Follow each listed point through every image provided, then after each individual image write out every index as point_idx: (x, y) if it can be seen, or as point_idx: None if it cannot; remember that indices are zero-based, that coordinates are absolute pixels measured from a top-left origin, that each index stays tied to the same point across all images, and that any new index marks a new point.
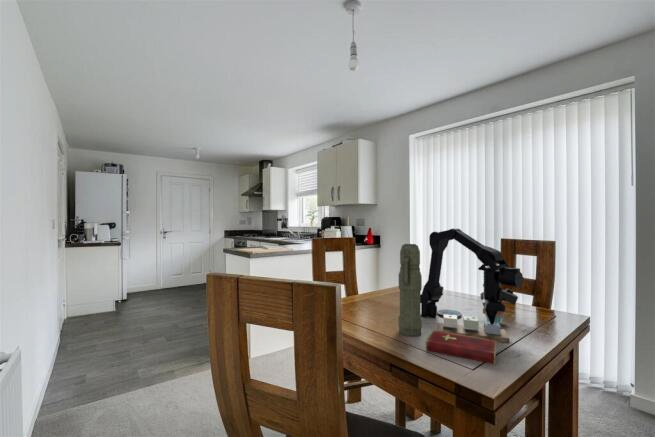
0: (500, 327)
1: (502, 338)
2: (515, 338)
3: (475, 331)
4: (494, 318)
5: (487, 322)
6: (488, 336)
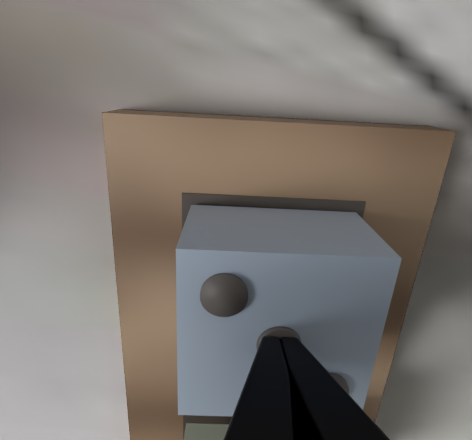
0: (396, 255)
1: (432, 206)
2: (264, 12)
3: None
4: (360, 418)
5: (219, 386)
6: (400, 327)
